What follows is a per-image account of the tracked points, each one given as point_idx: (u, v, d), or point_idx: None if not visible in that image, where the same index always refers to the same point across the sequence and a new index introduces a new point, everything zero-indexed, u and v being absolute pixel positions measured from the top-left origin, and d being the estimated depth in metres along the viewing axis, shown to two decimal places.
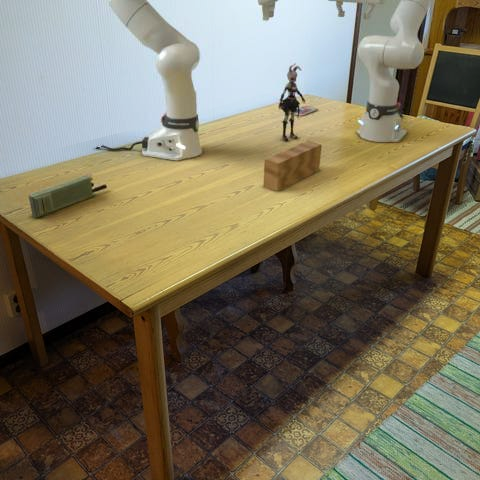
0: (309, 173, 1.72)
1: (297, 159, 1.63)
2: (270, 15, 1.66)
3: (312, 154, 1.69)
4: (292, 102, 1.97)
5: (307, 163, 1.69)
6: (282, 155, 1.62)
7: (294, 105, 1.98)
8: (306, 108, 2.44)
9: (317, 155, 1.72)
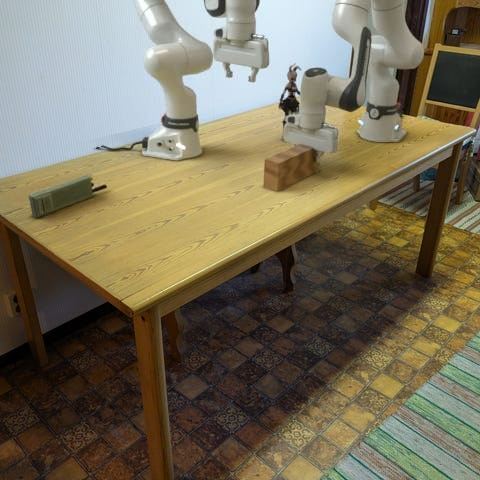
0: (309, 173, 1.72)
1: (297, 159, 1.63)
2: None
3: (312, 154, 1.69)
4: (292, 102, 1.97)
5: (307, 163, 1.69)
6: (282, 155, 1.62)
7: (294, 105, 1.98)
8: None
9: None
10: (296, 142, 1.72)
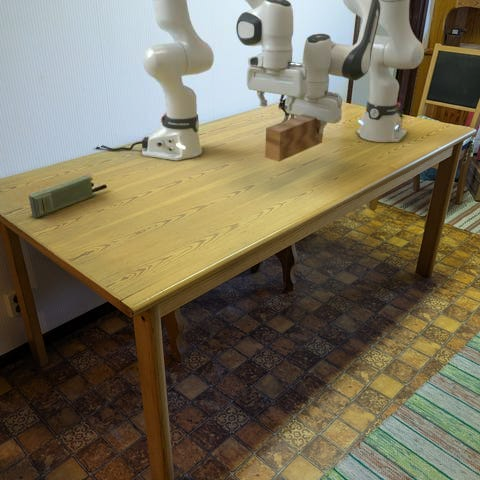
0: (311, 144, 1.67)
1: (299, 128, 1.58)
2: None
3: (315, 124, 1.65)
4: None
5: (310, 133, 1.64)
6: (284, 125, 1.57)
7: None
8: None
9: None
10: (298, 113, 1.68)
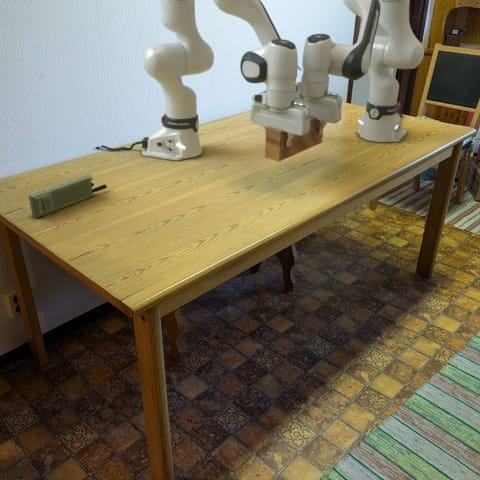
0: (311, 144, 1.67)
1: None
2: None
3: (315, 124, 1.65)
4: None
5: (310, 133, 1.64)
6: None
7: None
8: None
9: None
10: None
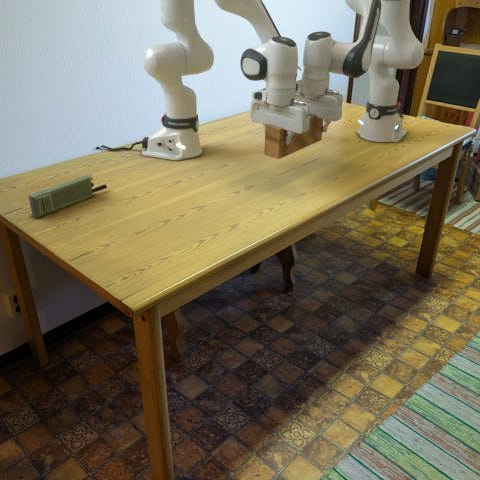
0: (310, 142, 1.67)
1: None
2: None
3: (314, 122, 1.64)
4: None
5: (309, 131, 1.64)
6: None
7: None
8: None
9: (320, 123, 1.67)
10: None
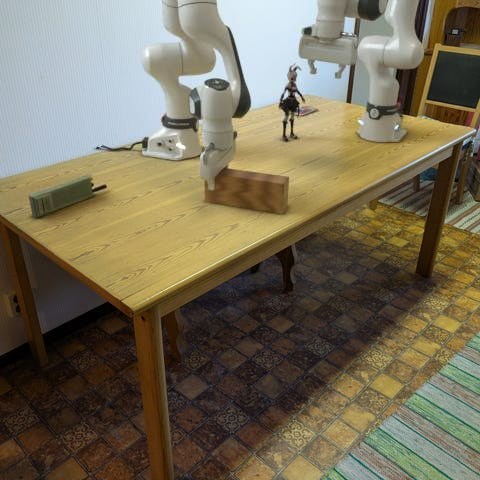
0: (261, 207, 1.48)
1: (236, 181, 1.46)
2: None
3: (265, 188, 1.44)
4: (292, 102, 1.97)
5: (257, 194, 1.46)
6: (227, 171, 1.49)
7: (294, 105, 1.98)
8: (306, 108, 2.44)
9: (277, 194, 1.44)
10: (312, 57, 1.63)
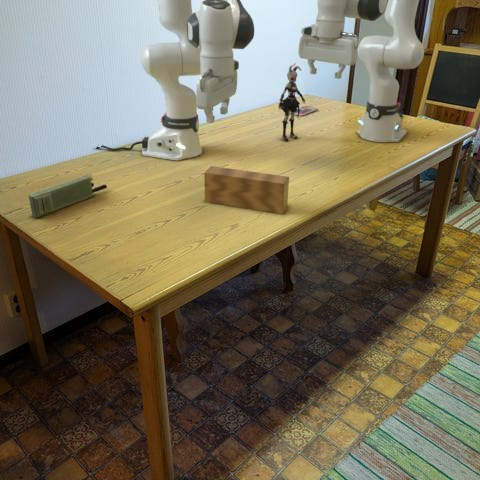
0: (261, 207, 1.48)
1: (236, 181, 1.46)
2: None
3: (265, 188, 1.44)
4: (292, 102, 1.97)
5: (257, 194, 1.46)
6: (227, 171, 1.49)
7: (294, 105, 1.98)
8: (306, 108, 2.44)
9: (277, 194, 1.44)
10: (312, 57, 1.63)
